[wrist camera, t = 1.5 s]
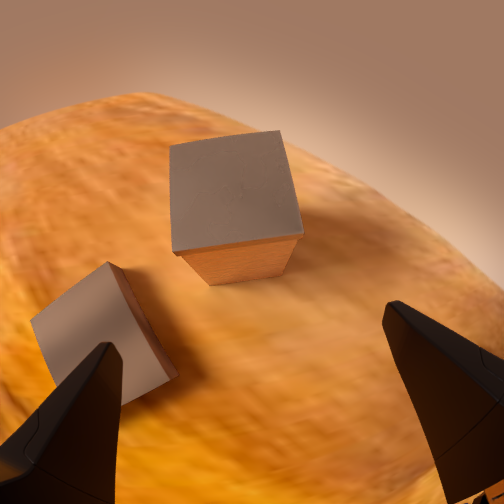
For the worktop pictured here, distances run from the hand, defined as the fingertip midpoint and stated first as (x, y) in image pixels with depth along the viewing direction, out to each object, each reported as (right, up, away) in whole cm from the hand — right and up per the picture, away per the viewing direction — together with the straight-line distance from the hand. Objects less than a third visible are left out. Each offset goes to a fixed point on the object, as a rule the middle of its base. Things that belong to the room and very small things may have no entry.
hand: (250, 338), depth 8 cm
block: (-12, -6, +12) cm, 18 cm away
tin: (-1, +3, +14) cm, 15 cm away
